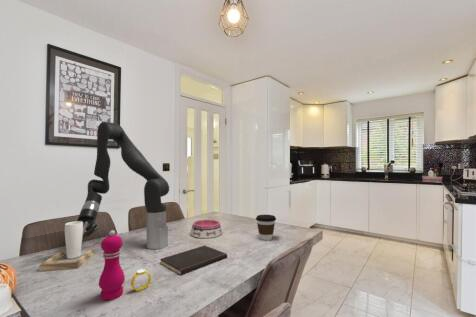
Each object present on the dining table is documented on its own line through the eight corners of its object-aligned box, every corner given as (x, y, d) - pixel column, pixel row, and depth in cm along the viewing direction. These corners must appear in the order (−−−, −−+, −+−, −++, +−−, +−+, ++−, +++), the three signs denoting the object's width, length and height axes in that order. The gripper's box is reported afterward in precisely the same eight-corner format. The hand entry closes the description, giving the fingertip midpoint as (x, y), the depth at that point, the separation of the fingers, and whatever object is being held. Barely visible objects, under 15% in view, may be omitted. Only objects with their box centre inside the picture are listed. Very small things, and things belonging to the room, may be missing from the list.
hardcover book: (159, 264, 100) (159, 258, 100) (204, 250, 117) (204, 245, 117) (181, 277, 89) (181, 270, 89) (227, 259, 105) (227, 253, 105)
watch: (133, 294, 77) (132, 275, 77) (130, 291, 79) (129, 272, 79) (152, 286, 81) (151, 269, 81) (149, 283, 83) (148, 266, 83)
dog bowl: (228, 232, 145) (228, 220, 145) (208, 241, 129) (208, 228, 129) (204, 228, 155) (204, 217, 155) (183, 235, 139) (183, 223, 139)
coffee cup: (253, 240, 128) (253, 217, 129) (259, 235, 138) (259, 213, 139) (273, 243, 124) (273, 219, 124) (278, 237, 134) (278, 215, 135)
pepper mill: (105, 289, 80) (105, 227, 80) (128, 288, 80) (128, 227, 81) (94, 302, 72) (94, 234, 73) (119, 300, 73) (119, 233, 73)
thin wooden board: (62, 255, 110) (62, 250, 110) (94, 253, 112) (94, 247, 113) (39, 271, 94) (39, 265, 94) (78, 268, 96) (78, 262, 96)
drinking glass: (72, 260, 104) (72, 225, 104) (60, 259, 106) (60, 224, 106) (86, 255, 110) (86, 221, 110) (75, 253, 112) (75, 220, 113)
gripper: (72, 208, 120) (58, 241, 107) (101, 207, 122) (91, 239, 110) (77, 216, 125) (64, 249, 113) (105, 215, 127) (95, 247, 115)
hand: (77, 244), depth 111 cm, fingers closed
